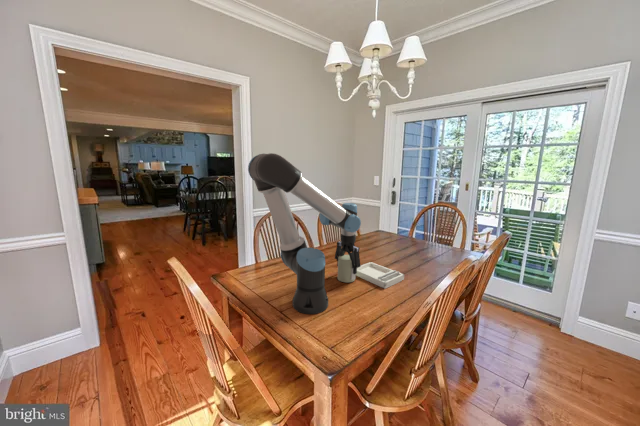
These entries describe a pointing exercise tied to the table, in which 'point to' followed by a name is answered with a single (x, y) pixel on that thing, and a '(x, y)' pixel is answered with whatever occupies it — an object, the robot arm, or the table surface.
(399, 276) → the rack
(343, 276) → the can
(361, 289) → the table surface
